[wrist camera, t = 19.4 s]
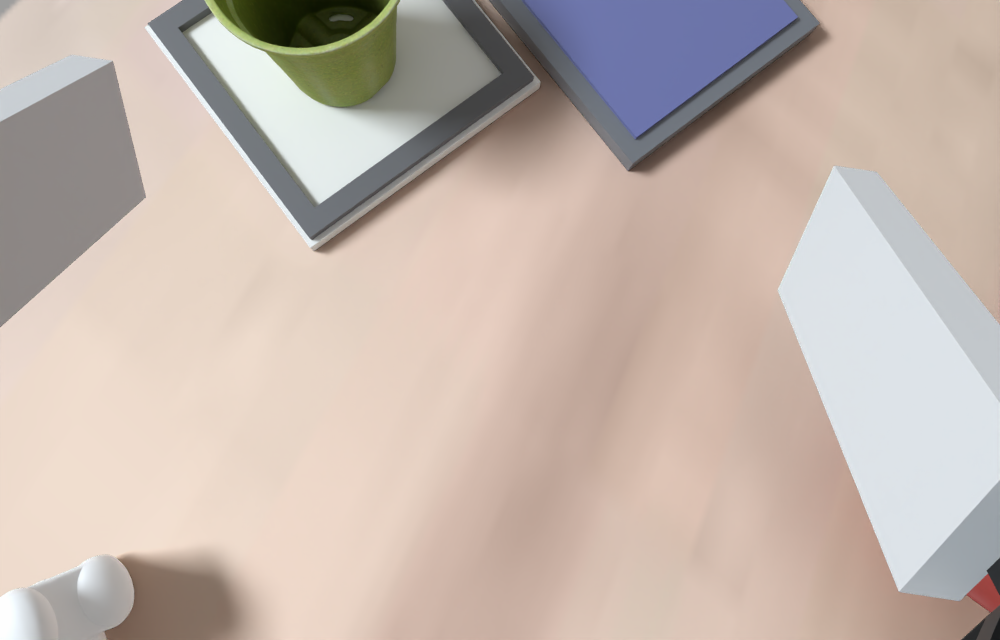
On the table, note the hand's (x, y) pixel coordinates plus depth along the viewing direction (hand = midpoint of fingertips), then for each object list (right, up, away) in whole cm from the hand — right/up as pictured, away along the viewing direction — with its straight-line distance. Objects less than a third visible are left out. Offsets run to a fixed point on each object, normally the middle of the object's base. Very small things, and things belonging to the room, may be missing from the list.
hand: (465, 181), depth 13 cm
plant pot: (-8, +12, +25) cm, 29 cm away
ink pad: (+9, +16, +27) cm, 33 cm away
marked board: (-8, +12, +26) cm, 30 cm away
